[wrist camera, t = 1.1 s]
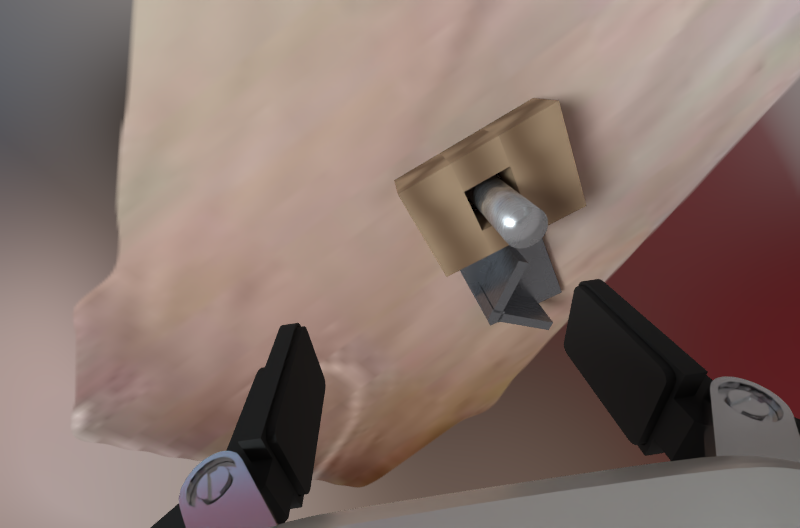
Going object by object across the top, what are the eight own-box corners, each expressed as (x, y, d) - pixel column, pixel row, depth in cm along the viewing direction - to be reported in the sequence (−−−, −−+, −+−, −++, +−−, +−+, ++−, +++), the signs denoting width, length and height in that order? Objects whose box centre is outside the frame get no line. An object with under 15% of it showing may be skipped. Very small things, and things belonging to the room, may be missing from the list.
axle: (489, 163, 34) (540, 198, 24) (500, 191, 36) (553, 235, 26) (459, 180, 35) (496, 221, 25) (471, 206, 37) (511, 255, 26)
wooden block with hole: (532, 98, 32) (558, 100, 27) (560, 191, 37) (586, 205, 32) (394, 180, 34) (397, 194, 30) (438, 255, 40) (446, 276, 35)
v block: (557, 288, 44) (583, 315, 39) (488, 320, 46) (503, 351, 40) (532, 218, 38) (557, 239, 33) (453, 259, 40) (466, 285, 35)
